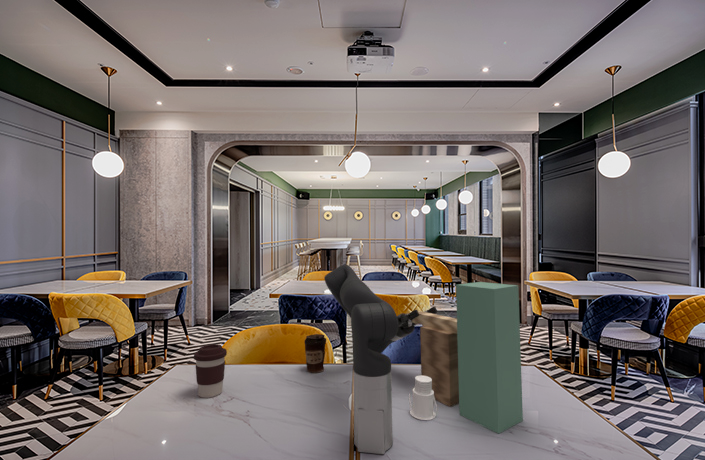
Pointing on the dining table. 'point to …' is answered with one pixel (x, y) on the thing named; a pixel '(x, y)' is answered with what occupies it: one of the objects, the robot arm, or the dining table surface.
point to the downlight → (423, 399)
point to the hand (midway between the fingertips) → (426, 310)
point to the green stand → (489, 354)
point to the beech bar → (436, 321)
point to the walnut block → (440, 363)
